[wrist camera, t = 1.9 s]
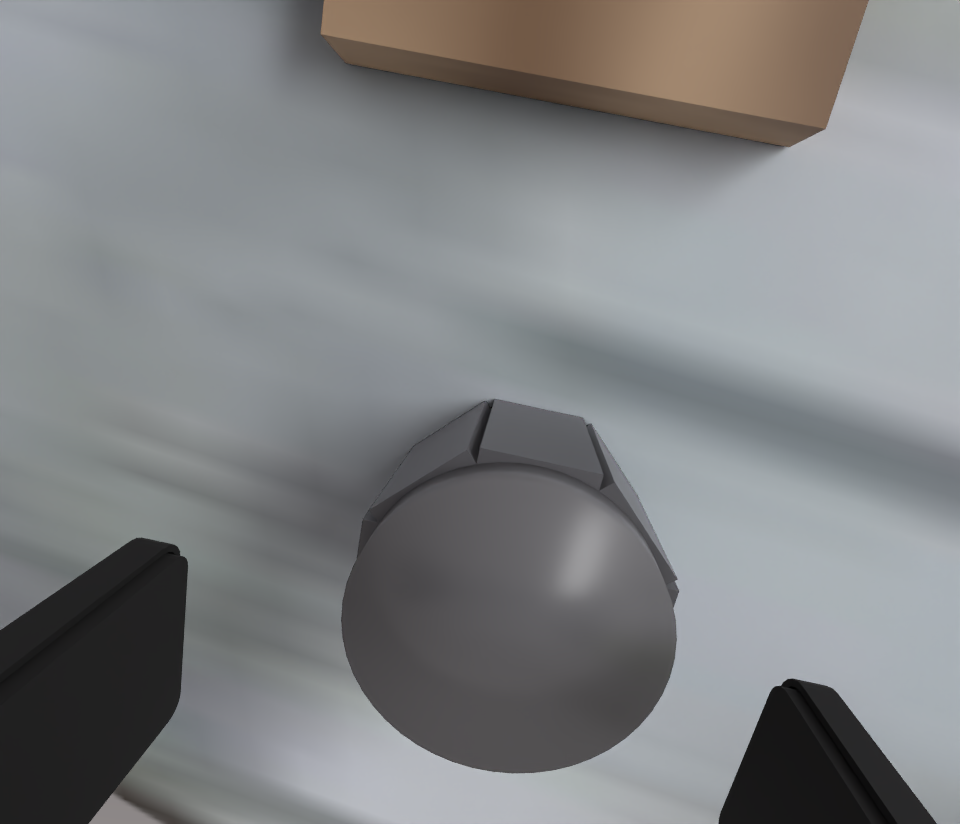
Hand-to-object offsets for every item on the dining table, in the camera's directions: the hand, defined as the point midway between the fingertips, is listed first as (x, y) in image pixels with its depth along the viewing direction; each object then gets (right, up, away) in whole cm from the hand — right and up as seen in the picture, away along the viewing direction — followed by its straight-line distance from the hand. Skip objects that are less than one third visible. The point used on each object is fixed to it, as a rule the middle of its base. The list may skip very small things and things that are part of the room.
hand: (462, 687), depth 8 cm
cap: (+1, +1, +6) cm, 6 cm away
